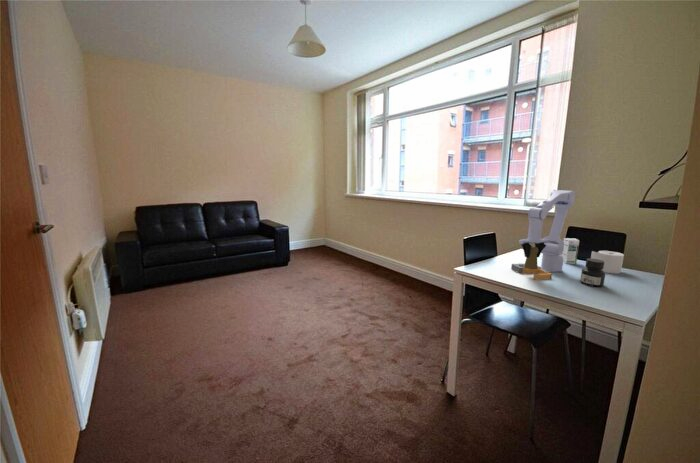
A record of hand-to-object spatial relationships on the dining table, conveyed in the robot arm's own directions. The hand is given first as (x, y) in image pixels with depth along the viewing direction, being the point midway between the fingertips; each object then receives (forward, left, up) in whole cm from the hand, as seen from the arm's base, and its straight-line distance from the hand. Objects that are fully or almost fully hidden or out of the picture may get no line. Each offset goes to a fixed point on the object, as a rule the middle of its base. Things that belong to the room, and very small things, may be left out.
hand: (531, 257), depth 153 cm
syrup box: (-40, -21, -11) cm, 46 cm away
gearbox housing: (-4, -3, -10) cm, 11 cm away
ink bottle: (-23, +13, -11) cm, 28 cm away
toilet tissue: (-49, -5, -11) cm, 50 cm away
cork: (0, 0, -6) cm, 6 cm away
